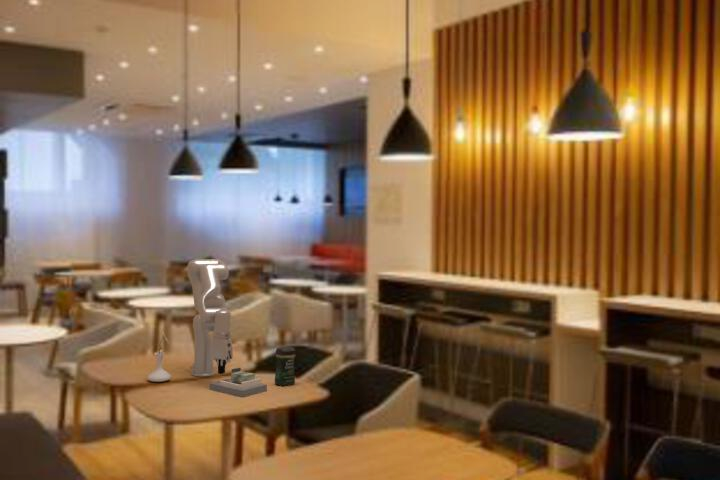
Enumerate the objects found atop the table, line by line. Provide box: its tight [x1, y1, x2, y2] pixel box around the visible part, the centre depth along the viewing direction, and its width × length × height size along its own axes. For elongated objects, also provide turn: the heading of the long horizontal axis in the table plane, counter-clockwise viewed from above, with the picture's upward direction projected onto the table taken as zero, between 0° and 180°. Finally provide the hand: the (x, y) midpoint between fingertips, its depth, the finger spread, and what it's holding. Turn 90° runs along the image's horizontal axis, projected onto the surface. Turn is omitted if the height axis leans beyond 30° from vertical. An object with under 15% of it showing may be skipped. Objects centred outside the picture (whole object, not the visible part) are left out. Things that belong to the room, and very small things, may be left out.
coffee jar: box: [274, 346, 296, 387], centre depth 360 cm, size 10×8×19 cm
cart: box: [230, 367, 256, 384], centre depth 344 cm, size 10×6×7 cm, turn 53°
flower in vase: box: [147, 330, 172, 383], centre depth 362 cm, size 13×11×25 cm
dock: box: [209, 378, 268, 398], centre depth 346 cm, size 22×16×6 cm
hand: (221, 373), depth 353 cm, fingers closed
